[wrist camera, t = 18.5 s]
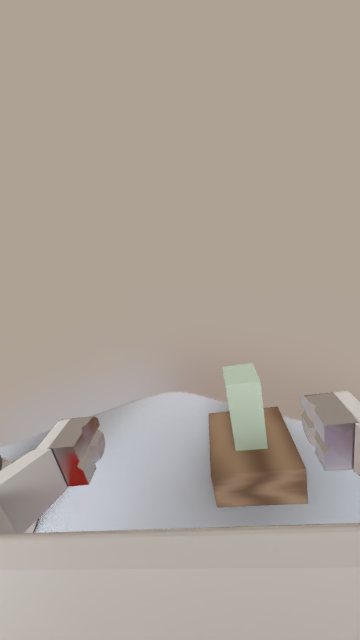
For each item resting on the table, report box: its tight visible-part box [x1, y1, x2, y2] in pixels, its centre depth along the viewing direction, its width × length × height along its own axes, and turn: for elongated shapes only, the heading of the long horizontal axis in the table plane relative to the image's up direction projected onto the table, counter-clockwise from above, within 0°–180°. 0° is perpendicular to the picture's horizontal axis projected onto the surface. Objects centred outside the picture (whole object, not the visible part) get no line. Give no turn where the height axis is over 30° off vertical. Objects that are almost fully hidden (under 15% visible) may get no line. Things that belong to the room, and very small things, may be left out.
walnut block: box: [209, 407, 308, 507], centre depth 37 cm, size 12×12×6 cm
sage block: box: [223, 363, 268, 451], centre depth 35 cm, size 4×5×11 cm
